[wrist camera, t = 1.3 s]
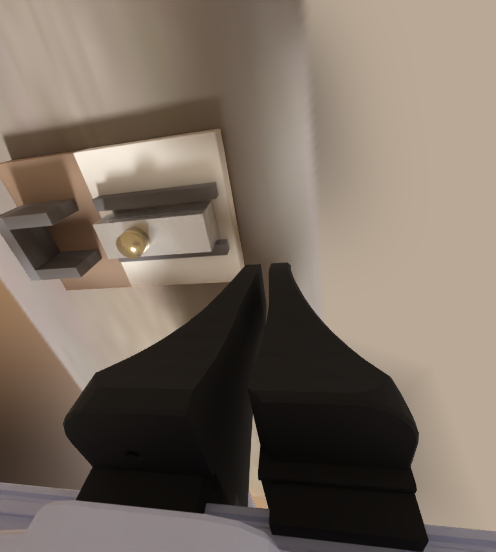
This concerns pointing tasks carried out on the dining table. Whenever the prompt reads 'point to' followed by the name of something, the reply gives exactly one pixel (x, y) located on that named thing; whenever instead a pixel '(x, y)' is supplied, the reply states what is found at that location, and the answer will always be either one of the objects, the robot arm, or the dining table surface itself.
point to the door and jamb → (116, 197)
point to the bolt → (158, 231)
